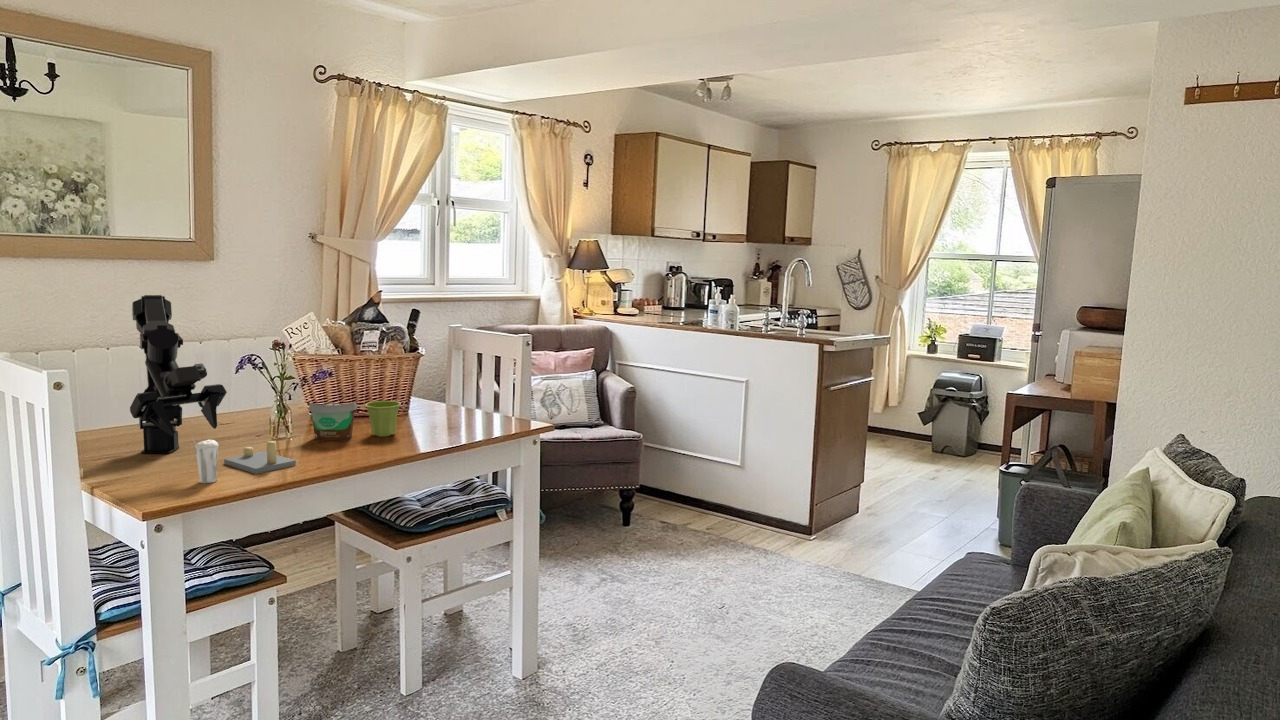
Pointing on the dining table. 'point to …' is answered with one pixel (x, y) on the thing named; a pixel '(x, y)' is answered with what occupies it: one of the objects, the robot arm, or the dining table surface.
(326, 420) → the food container
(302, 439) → the dining table surface
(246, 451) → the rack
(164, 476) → the dining table surface
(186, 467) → the dining table surface
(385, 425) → the plant pot
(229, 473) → the dining table surface
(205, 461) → the milkshake
